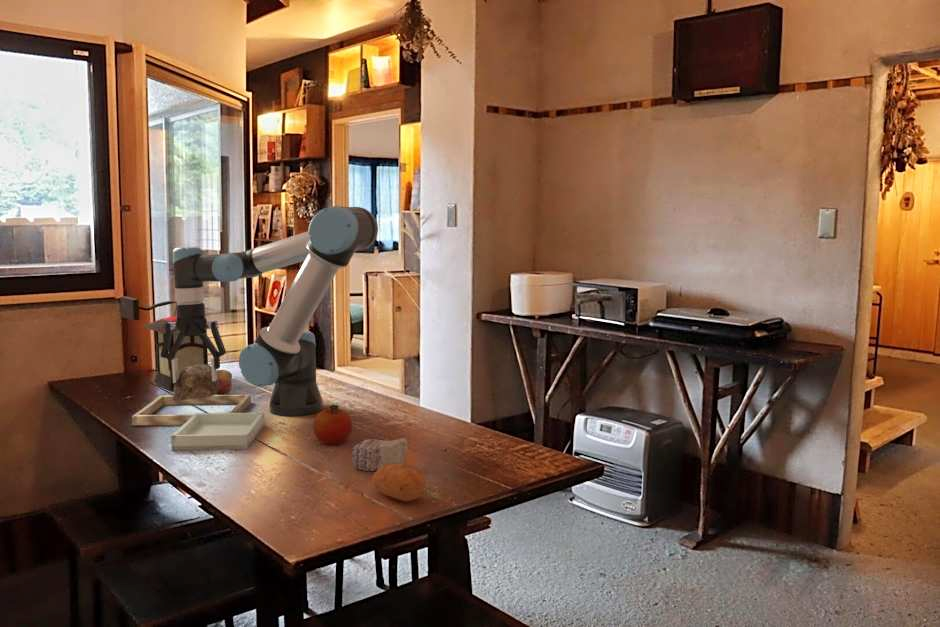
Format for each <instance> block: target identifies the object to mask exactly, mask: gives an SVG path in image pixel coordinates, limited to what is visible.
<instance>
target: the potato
mask: <svg viewBox="0 0 940 627" xmlns="http://www.w3.org/2000/svg"><path fill="white" fill-rule="evenodd" d="M372 483H373V485H374V487H375V488H376V490H378V491H379V492H381V493H383V494H384V495H386V496H389V497H391V498H393V499H394V500H397V501H401V502H405V503H407V502H412V501H415V500H418V499H421V497H422V496H423V493H424V492H425V489H426V480H425V477H424V476H423V474H421V473H420V472H418V471H417V470H415V469H413V468H411V467H410V466H407V465H405V464H404V465H402V464H389V465H385V466H383V467H381V468H380V469H378V470H375V472H374V473H373V476H372Z"/></svg>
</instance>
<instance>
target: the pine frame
mask: <svg viewBox="0 0 940 627" xmlns="http://www.w3.org/2000/svg"><path fill="white" fill-rule="evenodd" d="M251 403H252V395H251V394H225V395H217V394H216V395H213V396H210V397H205V398H197V399H189V400H182V401H178V400H174V399H173V395H159V396H158V397H157V398H155V399H154V400H152V401H151V402H150V403H148V404H147V405H145V406H144V407H142V409H140V410H139V411H137V412H136V413H134V414H133V415H132V416H131V421H132V422H131V426H178V425H180V426H182V425H184V424H185V423H186V422H187V421H188V420H189V419H190V418H191V417H192V416H193V415H194V414H195V413H192V414H189V413H187V414H185V413H184V414H154V413H155V412H156V411H158V410H159V409H160V408H162V407H163V406H167V405H169V406H173V405H175V406H176V405H177V406H179V405H180V406H182V405H183V406H184V405H185V404H189V405H236V406H235V407H234V408H233V409H232V410H231V411H230V412H229V413H244V411H245V410H247V408H248V407H249V406H250V404H251Z"/></svg>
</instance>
